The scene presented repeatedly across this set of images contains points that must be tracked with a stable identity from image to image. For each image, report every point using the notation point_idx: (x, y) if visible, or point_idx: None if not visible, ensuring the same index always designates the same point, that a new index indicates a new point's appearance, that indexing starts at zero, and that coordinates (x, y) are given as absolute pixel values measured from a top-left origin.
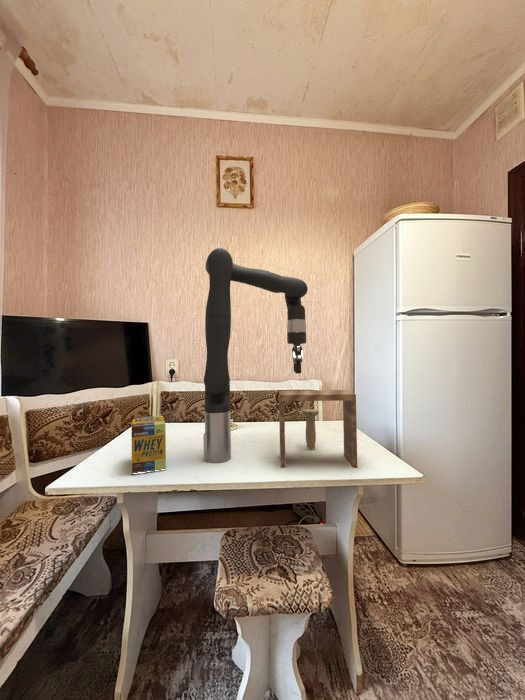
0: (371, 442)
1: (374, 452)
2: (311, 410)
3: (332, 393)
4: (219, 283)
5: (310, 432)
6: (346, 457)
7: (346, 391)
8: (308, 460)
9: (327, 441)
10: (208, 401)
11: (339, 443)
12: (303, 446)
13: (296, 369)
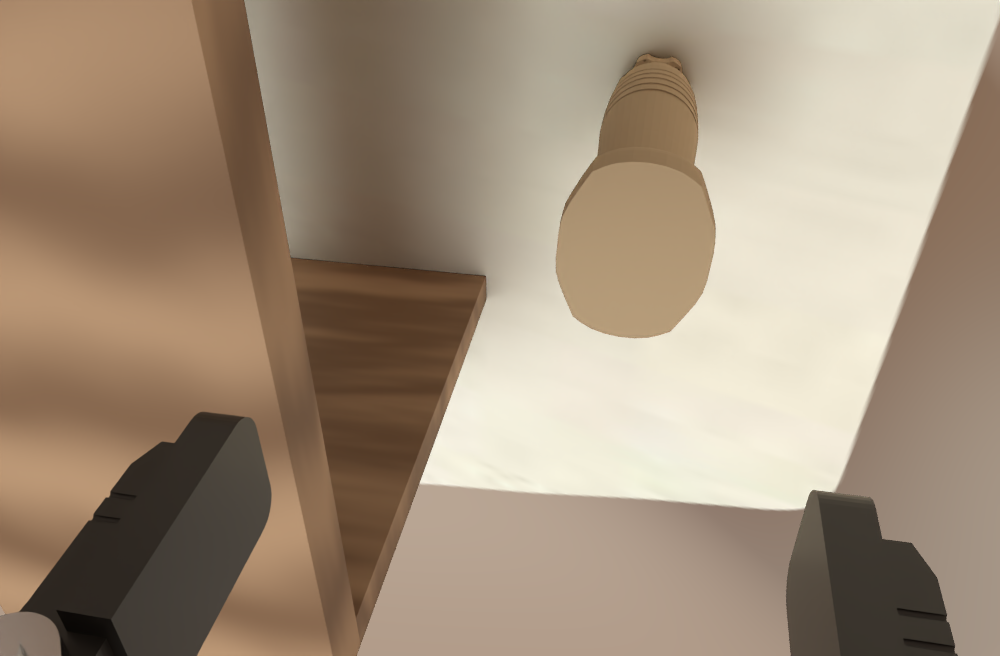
0: (738, 504)
1: (538, 444)
2: (634, 268)
3: (13, 512)
4: None
5: (600, 137)
6: (418, 274)
7: (202, 651)
8: (371, 16)
9: (830, 258)
10: None
11: (755, 325)
12: (722, 28)
13: (137, 491)
